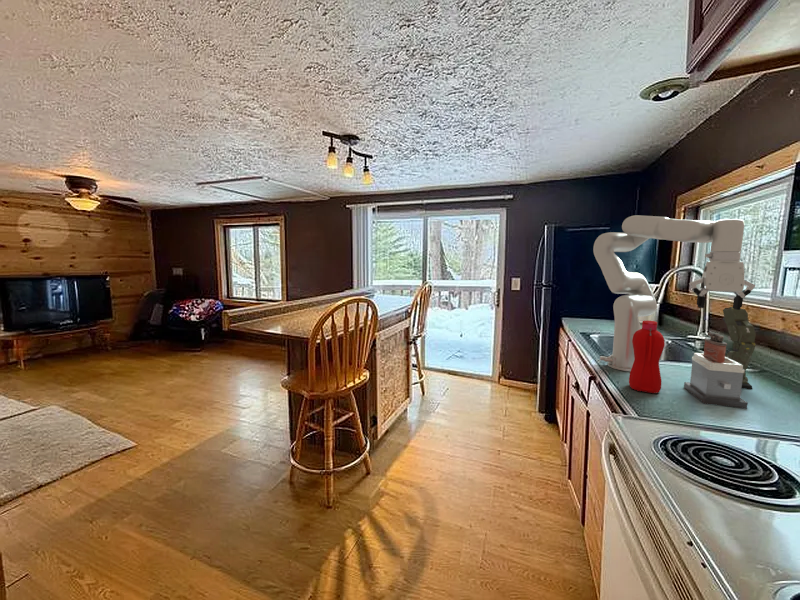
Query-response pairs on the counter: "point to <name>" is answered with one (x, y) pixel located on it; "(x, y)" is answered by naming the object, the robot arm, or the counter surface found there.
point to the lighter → (715, 348)
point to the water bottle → (647, 358)
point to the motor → (716, 382)
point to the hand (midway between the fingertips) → (718, 308)
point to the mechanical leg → (740, 338)
